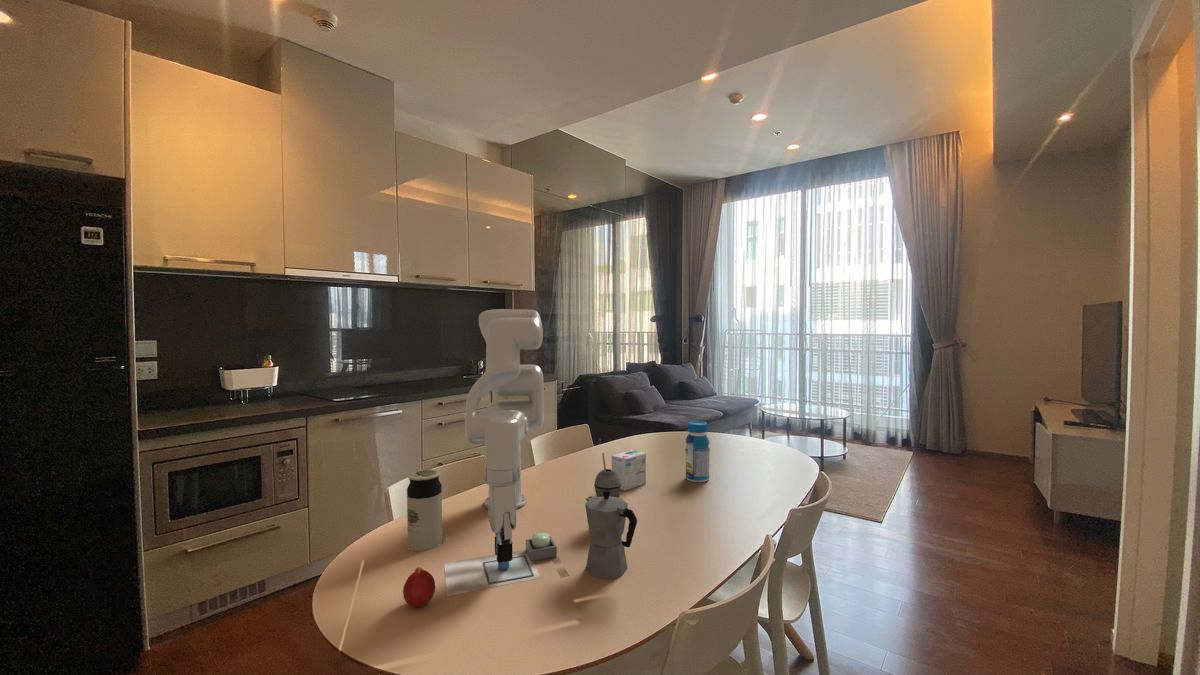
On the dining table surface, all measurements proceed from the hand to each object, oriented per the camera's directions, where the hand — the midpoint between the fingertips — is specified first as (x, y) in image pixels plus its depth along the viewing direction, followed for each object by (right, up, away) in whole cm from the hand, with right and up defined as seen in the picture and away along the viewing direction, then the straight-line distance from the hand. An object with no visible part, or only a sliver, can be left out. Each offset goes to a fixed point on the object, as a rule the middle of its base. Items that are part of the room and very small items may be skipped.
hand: (503, 556), depth 104 cm
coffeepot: (+23, -4, 0) cm, 24 cm away
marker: (0, -2, 0) cm, 2 cm away
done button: (+7, -1, +7) cm, 10 cm away
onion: (-14, -4, -13) cm, 19 cm away
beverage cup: (+23, -3, +23) cm, 33 cm away
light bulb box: (+31, -2, +57) cm, 65 cm away
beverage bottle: (+55, -2, +63) cm, 84 cm away
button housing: (+7, -3, +7) cm, 11 cm away
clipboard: (0, -4, +1) cm, 4 cm away
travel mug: (-22, -4, +13) cm, 26 cm away
